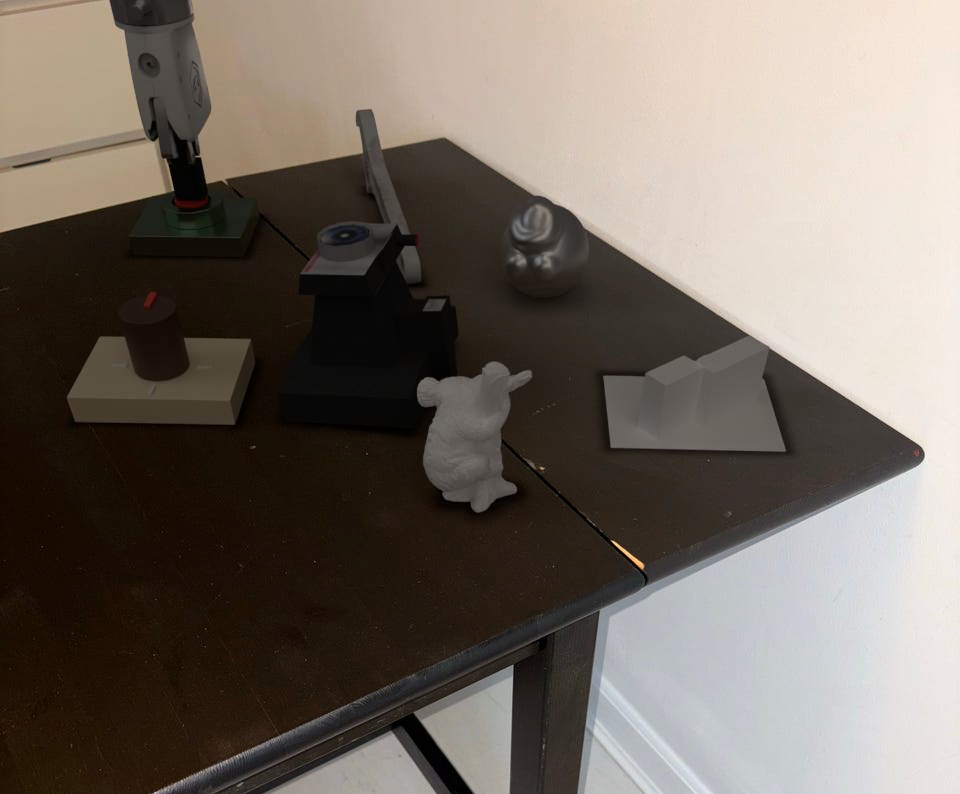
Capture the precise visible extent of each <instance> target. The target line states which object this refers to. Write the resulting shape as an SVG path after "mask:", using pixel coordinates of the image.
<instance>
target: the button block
mask: <svg viewBox="0 0 960 794" xmlns="http://www.w3.org/2000/svg"><path fill="white" fill-rule="evenodd" d="M207 189H208V194H207V196H208V200H209V203H207V204H205V205H203V206H201V207H196V208H180V207H177V206H175V202H174V199H175V193H174V190H173V191H171V192H169V193H167V194H165V195H164V196H160V195H157V196H156V195H154V196H151V197H150V199H149V200H148V203H147V204H146V206H145V208H144V209H143V210H142V212H141V214H140V216H139V218H138V219H137V221H136V223H135V224H134V226H133V228H132V229H131V231H130V233H129V234H128V238H129V242H130V246H131V249H132V253H133V256H143V257H145V256H148V257H204V258H206V257H207V258H209V257H211V258H212V257H215V258H244V257H245V256H246V252H247V250H248V248H249V246H250V243H251V240H252V237H253V235H254V233H255V231H256V227H257V225H258V222H259V220H260V217H261V215H260V209H259V203H258V198H257V197H230V196H229V197H228V196H227V197H226V196H225V197H223V196H222V194H221V193H220V192H219V191H218V190H216V189H215V190H214V189H211V188H208V187H207Z"/></svg>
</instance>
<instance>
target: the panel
mask: <svg viewBox="0 0 960 794" xmlns="http://www.w3.org/2000/svg"><path fill="white" fill-rule="evenodd" d="M184 340H185V345H186V349H187V353H188V357H189V362H190V364H189V367H188V369H187V370H186V371H185V372H184V373H183V374H181V375H180V376H178V377H175V378H173V379H169V380H164V381H149V380H145V379H142V378H140V377H139V376H137V375H136V373H135V371H134V368H133V364H132V361H131V357H130V354H129V350H128V347H127V343H126V340H125V336H99V337H98V339H97V341H96V342H95V345H94V347H93V349H92V350H91V352H90V355H89V356H88V358H87V359H86V361H85V363H84V365H83V367H82V368H81V371H80V372H79V374H78V376H77V378H76V380H75V381H74V383H73V385H72V387H71V389H70V391H69V392H68V394H67V397H66V399H67V402H68V405H69V408H70V411H71V414H72V418H73V420H74V422H75V423H105V424H106V423H108V424H109V423H110V424H112V423H113V424H114V423H116V424H167V425H169V424H173V425H229V426H230V425H231V426H235V425H236V423H237V421H238V418H239V415H240V411H241V408H242V405H243V402H244V399H245V395H246V392H247V389H248V387H249V383H250V380H251V378H252V374H253V371H254V368H255V366H256V357H255V353H254V347H253V342H252V339H251V338H222V337H221V338H215V337H213V338H212V337H184Z"/></svg>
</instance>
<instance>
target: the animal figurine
mask: <svg viewBox="0 0 960 794" xmlns="http://www.w3.org/2000/svg"><path fill="white" fill-rule="evenodd" d="M531 379H533V372H532V370H530V369H526V370H522V371H521V372H519V373H517V374H511V372H510V370H509V368H508V367H507V366H505V365H504V363H501V362H499V361H490V362H488V363H486V364H485V366H483V367H482V368H481V374H478V375H476V376H474V377H472V378H470V377H468V376H464V375H462V376H460V375H457V377H449V378H445V379H443V380H441V381H437V380H436V379H434V378H429V377H426V378H424V380H421V382H420V383H419V385H418V388H417V398H418V402H419V403H420V405H421V406H424V407H425V408H429V407H436V411H435V413H434V417H433V418H432V423H431V424H430V425H429V427H428V433H427V437H426V441H425V445H424V451H423V452H424V453H423V455H422V465H423V468H424V471H425V474H426V476H427V478H428V481H429V482H430V483H431V484H432V485H433V486H434V487H436V488H437V489H438V490H440V491H442V497H443V499H444V500H446V501H449V502H454V503H456V502H458V503H459V502H460V503H467V502H469V503H470V507H471V509H472V510H473V511H474V512H475V513H477V514H478V513H482V512H485V511H486V510H488V509H489V508H490V506H491V504H493V503H495V501H496V500H497V499H501V498H504V497H507V496H511V495H514V494H516V493H517V492H518V487H517V486H516V484H514V482H511V481H507V480H505V478H504V477H502V473H503V470H504V464H503V454H502V450H501V447H502V442H503V440H502V433H501V431H502V430H501V429H502V427H503V426H504V424H505V423H506V421H507V419H508V415H509V414H510V411H511V398H510V394H509V393H510V392H514V391H515V390H516V389H518V388H520V387H523V386H525V385H526V384H527V383H528V382H530V381H531Z"/></svg>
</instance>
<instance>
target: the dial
mask: <svg viewBox="0 0 960 794" xmlns="http://www.w3.org/2000/svg"><path fill="white" fill-rule="evenodd" d="M117 314H118V320H119V323H120V326H121V329H122V333H123V337H125V340H126V343H127V347H128V350H129V354H130V357H131V361H132V364H133V368H134V371H135V373H136V375H137V376H139V377H140V378H142V379H145V380H149V381H164V380H169V379H173V378H175V377H178V376H180V375H181V374H183V373H184V372H185V371H186V370H187V369H188V367H189V364H190V362H189V357H188V353H187V349H186V345H185V340H184V338H185V336H184V333H183V328H182V324H181V319H180V315H179V312H178V307H177V304H176V302H175V301H174V300H173V299H171V298H169V297H167V296H164V295H158V291H150V292H149V294H148V295H143V296H138V297H134V298H132V299H129V300H128V301H125V302H124V303H123V304H122V305H121V306H120V307H119V309H118V312H117Z"/></svg>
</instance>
